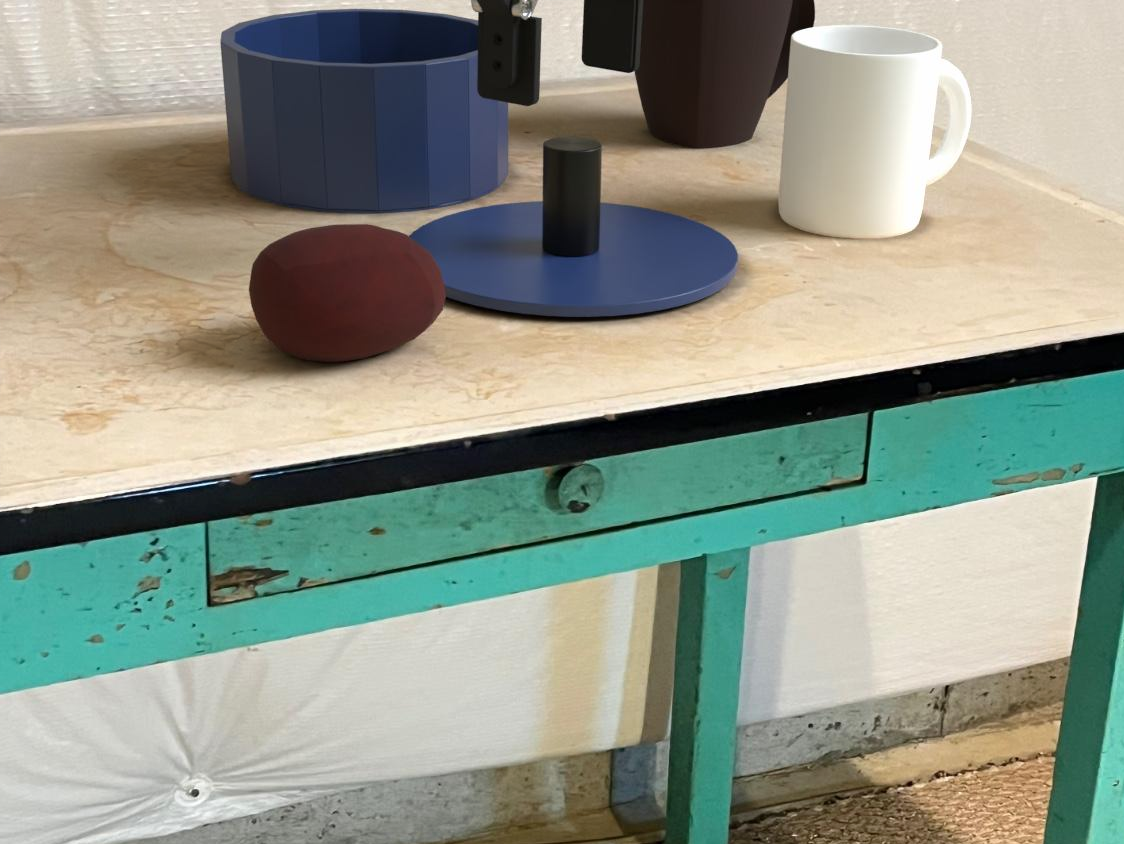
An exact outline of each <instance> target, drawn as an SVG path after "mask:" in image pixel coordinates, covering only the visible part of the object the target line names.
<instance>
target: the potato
mask: <svg viewBox="0 0 1124 844" xmlns="http://www.w3.org/2000/svg"><path fill="white" fill-rule="evenodd" d="M409 236H410V235H408V234H406V233H404V232H401V231H398V230H393V229H390V228H385V227H381V226H378V225H376V224H375V225H374V224H368V223H361V224H360V223H359V224H354V223H353V224H352V223H351V224H331V225H330V224H329V225H323V226H315V227H309V228H306V229H302V230H298V231H294V232H292V233H289V234H288V235H285V236H283V237H281V238H279V239H276V240H275V241H273V242H271V243H269V244H268V245H267V246H266V247H264V248H263V249H262V250H261V251H260V252H259V253H258V255H257V256H256V258H255V259H254V261H253V263H252V265H251V271H250V277H249V285H248V293H249V299H250V306H251V309H252V312H253V315H254V318H255V320H256V323H257V324H258V326H259V329H261V332H262V333H263V334H264V336H265V338H266V339H267V340H268V342H270V343H272V345H274V346H275V347H276V348H277V349H279V350H280V351H282V352H284V353H286V354H288V355H290V356H293V357H295V358H297V359H301V360H306V361H310V362H318V363H319V362H323V363H340V362H347V361H355V360H357V361H358V360H363V359H366V358H369V357H373V356H375V355H379V354H382V353H385V352H389V351H392V350H394V349H397V348H399V347H402V346H403V345H405V344H407V343H410V342H412V341H413V340H415V339H416V338H418V337H419V336H420V335H421V334H423V333H424V332H425V331H426V330H427V329H429V328H430V327H431V326H432V325H433V324H434V323H435V321H437V319H438V317H439V316H440V315H441V313H442V312H443V311H444V306H445V302H446V298H447V297H446V293H445V288H444V283H443V279H442V274H441V270H440V268H439V266H438V265H437V263H436V262H435V260H434V258H433V257H432V255H431V254H430V252H429V251H428V250H426V249H425V248H424V247H422V246H421V245H420V244H418V243H417V242H416V241H414V240H413V239H412V238H410V237H409Z"/></svg>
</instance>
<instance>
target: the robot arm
mask: <svg viewBox="0 0 1124 844" xmlns="http://www.w3.org/2000/svg"><path fill="white" fill-rule="evenodd" d="M538 1H539V0H470V4H471V8H472V10H473V11H474V12H475V13H477V20H478V69H477V91H478V94H479V95H480V96H481V97H482V98H486V99H491V100H497V101H502V102H507V103H508V104H513V105H518V106H524V107H530V106H533V105H536V104H537V103H538V102H539V100H540V88H541V86H540V85H541V58H542V56H541V55H542V30H543V29H542V27H543V22H542V21H543V17H537V16H533V13H534V12H535V9H536V6H537V4H538ZM642 13H643V0H583V12H582V15H583V16H582V34H581V35H582V37H581V62H582V63H583V65H584V66H586V67H590V68H595V69H602V70H607V71H613V72H620V73H625V74H632V73H635V71H637V70H638V68H639V64H640V47H641V30H642Z"/></svg>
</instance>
